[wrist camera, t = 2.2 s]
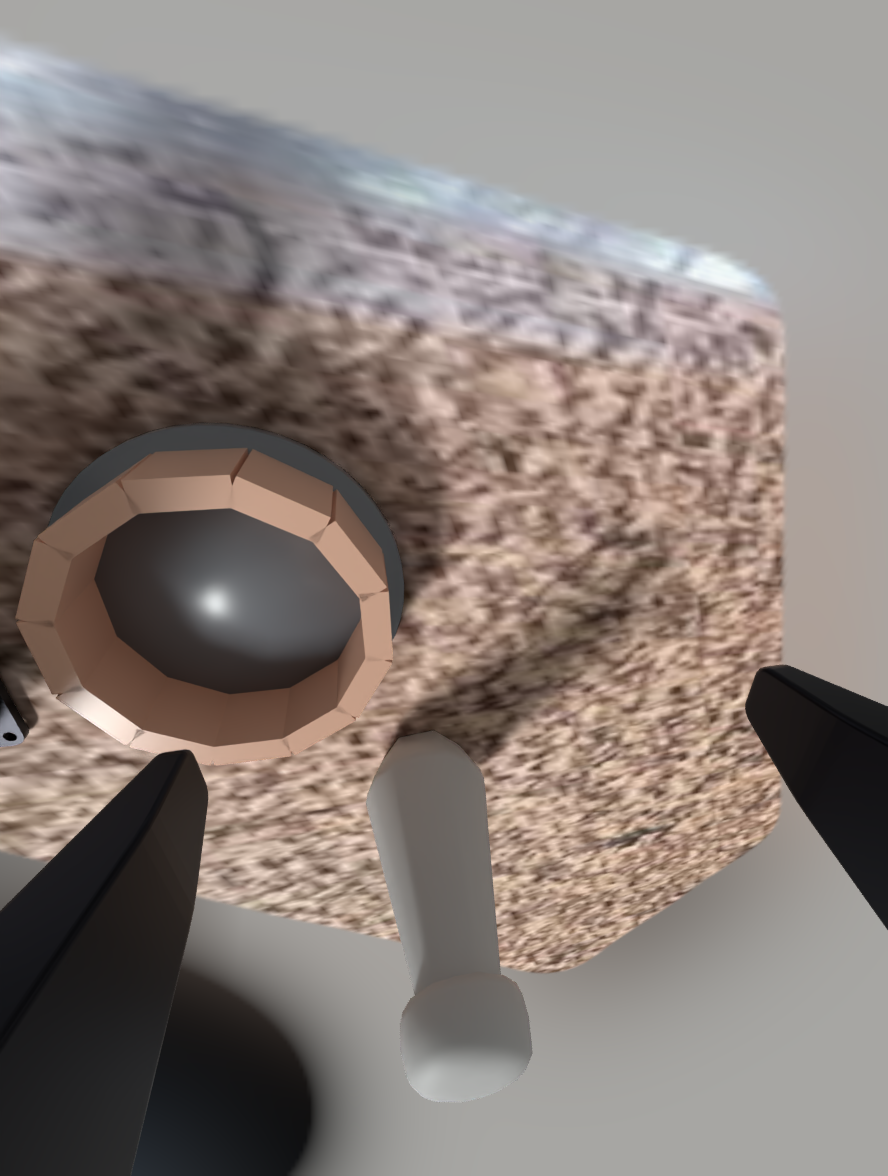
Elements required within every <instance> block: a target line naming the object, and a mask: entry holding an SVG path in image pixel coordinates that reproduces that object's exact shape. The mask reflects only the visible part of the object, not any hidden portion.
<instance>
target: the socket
mask: <svg viewBox="0 0 888 1176" xmlns="http://www.w3.org/2000/svg"><path fill="white" fill-rule="evenodd" d="M37 537H38V538H36V539H35V540H34V542H33V546H32V551H31V555H30V559H29V563H28V567H27V571H26V576H25V580H24V584H23V588H22V592H21V596H20V601H19V605H18V609H17V613H16V617H15V618H16V619H19V621H17V622H16V624H17V626H18V628H19V630H20V632H21V634H22V636H23V638H24V640H25V642H26V644H27V646H28V648H29V650H30V652H31V654H32V656H33V657H34V659H35V661H36V663H37V665H38V667H39V669H40V671H41V673H42V675H43V677H44V679H45V681H46V683H47V685H48V687H49V689H50V691H51V693H52V694H58V696H57V697H56V699H58V700H59V701H61V702H62V703H64V704H65V705H67V706H68V707H69V708H71V709H72V710H74V711H75V712H77V713H78V714H80V715H81V716H83V717H84V718H86V719H87V720H88V721H90V722H91V723H93V724H94V725H96V726H97V727H99V728H100V729H102V730H103V731H105V732H106V733H108V734H109V735H110V736H112V737H113V738H115V739H116V740H118V741H119V742H121V743H122V744H124V745H126V744H128V743H130V742H131V741H132V743H131V745H130V748H135V749H139V750H144V751H148V752H152V753H157V754H160V753H163V752H169V751H176V750H183V749H187V750H190V751H191V752H192V753H193V754H194V756H195V758H196V760H197V763H201V764H205V765H211V763H212V761H214V764H215V766H217V765H225V764H233V763H241V762H249V761H257V760H265V759H273V758H281V757H289V756H291V753H292V752H293V753H294V754H295V755H296V754H298V753H300V752H301V751H303V750H305V749H307V748H308V747H310V746H312V745H314V744H315V743H317V742H319V741H321V740H322V739H324V738H326V737H328V736H329V735H331V734H333V733H335V732H336V731H338V730H340V729H342V728H344V727H345V726H347V725H349V724H351V723H352V722H354V721H356V717H357V718H359V716H360V715H361V713H362V712H363V710H364V708H365V707H366V705H367V703H368V702H369V700H370V699H371V697H372V695H373V694H374V692H375V690H376V689H377V687H378V685H379V684H380V682H381V681H382V679H383V677H384V676H385V674H386V672H387V671H388V669H389V668H390V666H391V664H392V659H393V649H392V640H393V638H394V636H395V634H396V631H397V628H398V625H399V622H400V619H401V614H402V608H403V603H404V579H403V571H402V564H401V559H400V555H399V552H398V548H397V544H396V541H395V538H394V536H393V534H392V532H391V529H390V527H389V525H388V522H387V521H386V519H385V518H384V516H383V514H382V513H381V511H380V509H379V508H378V506H377V505H376V503H375V502H374V501H373V500H372V498H371V497H370V496H369V495H368V493H367V492H366V491H365V490H364V489H363V487H362V486H361V485H360V484H358V483H357V482H356V481H355V480H354V479H353V478H352V477H351V476H350V475H349V474H348V473H347V472H346V471H345V470H343V469H342V468H340V467H339V466H338V465H336V464H335V463H334V462H332V461H331V460H330V459H328V458H327V457H325V456H324V455H322V454H320V453H318V452H316V451H315V450H313V449H311V448H309V447H308V446H306V445H304V444H302V443H299V442H297V441H294V440H292V439H289V438H287V437H285V436H282V435H280V434H276V433H273V432H269V431H265V430H262V429H258V428H255V427H248V426H242V425H235V424H229V423H193V424H183V425H174V426H170V427H166V428H162V429H157V430H153V431H149V432H147V433H144V434H142V435H139V436H137V437H134V438H132V439H129V440H127V441H125V442H123V443H121V444H120V445H118V446H116V447H115V448H113V449H111V450H110V451H108V452H106V453H105V454H103V455H102V456H100V457H99V458H97V459H96V460H95V461H94V462H92V463H91V464H90V465H89V466H88V467H86V468H85V469H84V470H83V471H82V472H80V473H79V474H78V476H77V477H76V478H75V479H74V480H73V481H72V483H71V484H70V485H69V486H68V487H67V489H66V490H65V491H64V493H63V494H62V496H61V498H60V500H59V501H58V503H57V505H56V507H55V508H54V510H53V513H52V516H51V519H50V521H49V524H48V527H47V529H45V530H44V531H43V532H42V533H40V534H39V535H38V536H37Z"/></svg>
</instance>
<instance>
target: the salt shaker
mask: <svg viewBox="0 0 888 1176" xmlns="http://www.w3.org/2000/svg"><path fill="white" fill-rule="evenodd" d="M366 805H367V809H368V813H369V817H370V821H371V825H372V829H373V833H374V837H375V841H376V845H377V848H378V852H379V856H380V860H381V864H382V868H383V872H384V876H385V880H386V884H387V888H388V892H389V896H390V900H391V903H392V907H393V911H394V915H395V919H396V923H397V927H398V931H399V935H400V939H401V943H402V946H403V951H404V954H405V958H406V962H407V966H408V970H409V974H410V978H411V981H412V986H413V990H414V994H415V996H414V997H412V998H411V999H410V1001H409V1002H408V1004H407V1006H406V1008H405V1009H404V1011H403V1014H402V1018H401V1023H400V1049H401V1055H402V1059H403V1064H404V1069H405V1074H406V1077H407V1079H408V1081H409V1083H410V1085H411V1086H412V1087H413V1088H414V1089H415V1090H416V1091H417V1092H418V1093H419V1094H420V1095H421V1096H422V1097H424V1098H427V1099H429V1100H432V1101H435V1102H465V1101H470V1100H474V1099H479V1098H482V1097H485V1096H488V1095H491V1094H494V1093H496V1092H498V1091H500V1090H501V1089H503V1088H504V1087H506V1086H508V1085H509V1084H511V1083H513V1082H514V1081H516V1080H517V1079H518V1078H519V1077H520V1076H521V1075H522V1073H523V1072H524V1071H525V1070H526V1068H527V1065H528V1063H529V1060H530V1058H531V1055H532V1043H531V1033H530V1025H529V1016H528V1012H527V1009H526V1005H525V1002H524V998H523V995H522V993H521V991H520V989H519V987H518V985H517V983H516V982H514V981H512V980H511V979H509V978H507V977H506V976H504V975H501V973H500V960H499V949H498V937H497V925H496V914H495V902H494V891H493V879H492V868H491V856H490V844H489V833H488V820H487V804H486V792H485V784H484V777H483V775H482V772H481V770H480V768H479V767H478V766H477V765H476V764H475V763H474V762H473V760H472V759H471V758H470V757H469V756H468V755H467V754H466V753H465V751H464V750H463V749H462V748H461V747H460V746H459V745H458V744H457V743H455V742H453V741H451V740H450V739H448V738H446V737H445V736H443V735H441V734H439V733H438V732H436V731H434V730H433V731H428V732H423V733H419V734H414V735H409V736H405V737H400V738H398V740H397V741H396V742H395V744H394V745H393V747H392V748H391V749H390V751H389V752H388V754H387V755H386V756H385V758H384V759H383V761H382V763H381V765H380V767H379V769H378V771H377V773H376V775H375V777H374V779H373V782H372V784H371V787H370V789H369V792H368V795H367V801H366Z"/></svg>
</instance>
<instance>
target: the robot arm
mask: <svg viewBox="0 0 888 1176" xmlns="http://www.w3.org/2000/svg"><path fill="white" fill-rule="evenodd" d="M745 710H746V715H747V717H748V719H749V721H750V723H751V725H752V726H753V728H754V730H755V732H756V733H757V735H758V737H759V738H760V740H761V742H762V744H763V745H764V747H765V749H766V750H767V752H768V754H769V756H770V757H771V759H772V761H773V762H774V764H775V766H776V768H777V769H778V771H779V773H780V774H781V776H782V778H783V780H784V781H785V783H786V785H787V786H788V788H789V790H790V791H791V793H792V794H793V796H794V798H795V799H796V801H797V803H798V804H799V805H800V807H801V809H802V810H803V812H804V813H805V814H806V816H807V817H808V819H809V820H810V821H811V823H812V824H813V826H814V827H815V829H816V830H817V831H818V833H819V834H820V835H821V837H822V838H823V840H824V841H825V843H826V844H827V846H828V847H829V848H830V850H831V851H832V853H833V854H834V855H835V857H836V858H837V860H838V861H839V862H840V864H841V865H842V866H843V868H844V869H845V871H846V872H847V873H848V875H849V876H850V878H851V879H852V881H853V882H854V883H855V885H856V886H857V888H858V889H859V890H860V892H861V893H862V895H863V896H864V897H865V899H866V900H867V902H868V903H869V905H870V906H871V907H872V909H873V910H874V912H875V913H876V914H877V916H878V917H879V918H880V920H881V921H882V923H883V924H884V925H885V927H886V928H887V930H888V706H885V705H883V704H880V703H878V702H876V701H873V700H871V699H868V698H866V697H864V696H861V695H859V694H856V693H854V692H852V691H849V690H847V689H844V688H842V687H840V686H837V685H834V684H832V683H830V682H827V681H825V680H823V679H820V678H818V677H815V676H813V675H811V674H808V673H806V672H803V671H801V670H799V669H796V668H794V667H791V666H788V665H775V666H768V667H763V668H760V669H759V670H758V671H757V673H756V675H755V678H754V680H753V683H752V686H751V689H750V692H749V695H748V698H747V700H746V704H745ZM13 733H14V734H13ZM28 733H29V729H28V727H27V725H26V723H25V722H24V720H23V718H22V716H21V715H20V713H19V711H18V709H17V708H16V706H15V704H14V702H13V700H12V699H11V697H10V695H9V693H8V692H7V690H6V688H5V686H4V684H3V683H2V681H1V679H0V747H5V746H13V745H18V744H20V743H22V742H23V741H24V739H25V738H26V737H27V735H28ZM207 806H208V789H207V785H206V782H205V780H204V778H203V775H202V773H201V770H200V768H199V765H198V763H197V760H196V758H195V756H194V754H193V753H192V752H191V751H190V750H187V749H183V750H176V751H169V752H163V753H160V754H159V755H157V756H156V757H155V758H154V759H153V760H152V761H151V762H150V763H149V764H148V765H147V766H146V767H145V768H144V769H143V770H142V771H141V772H140V773H139V774H138V775H137V776H136V777H135V778H134V779H133V780H132V781H131V782H129V783H128V784H127V785H126V786H125V787H124V788H123V789H122V790H121V791H120V792H119V793H118V794H117V795H116V796H115V797H114V798H113V799H112V800H111V801H110V802H109V803H108V804H107V805H106V806H105V807H104V808H103V809H102V810H101V811H100V812H99V813H98V814H97V815H96V816H95V817H94V818H93V819H92V820H91V821H90V822H89V823H88V824H87V825H86V826H85V827H84V828H83V829H82V830H81V831H80V832H79V833H78V834H77V835H76V836H75V837H74V838H73V839H72V840H71V841H70V842H69V843H68V844H67V845H66V846H65V847H64V848H63V849H62V850H61V851H60V852H59V853H58V854H57V855H56V856H55V857H54V858H53V859H52V860H51V861H50V862H49V863H48V864H47V865H46V866H45V867H44V868H43V869H42V870H41V871H40V872H39V873H38V874H37V875H36V876H35V877H34V878H33V879H32V880H31V881H30V882H29V883H28V884H27V885H26V886H25V887H24V888H23V889H22V890H21V891H20V892H19V893H18V894H17V895H16V896H15V897H14V898H13V899H12V900H11V901H10V902H9V903H8V904H7V905H6V906H5V907H4V908H3V909H2V910H1V911H0V1176H131V1172H132V1168H133V1164H134V1159H135V1155H136V1151H137V1147H138V1143H139V1138H140V1134H141V1130H142V1126H143V1122H144V1118H145V1113H146V1109H147V1105H148V1101H149V1097H150V1092H151V1088H152V1084H153V1080H154V1076H155V1071H156V1067H157V1063H158V1059H159V1055H160V1051H161V1047H162V1042H163V1038H164V1034H165V1030H166V1026H167V1021H168V1017H169V1013H170V1009H171V1005H172V1000H173V996H174V992H175V988H176V984H177V980H178V975H179V971H180V967H181V963H182V958H183V955H184V950H185V946H186V942H187V938H188V934H189V929H190V925H191V920H192V915H193V911H194V905H195V898H196V892H197V884H198V876H199V869H200V861H201V853H202V845H203V837H204V830H205V822H206V814H207Z"/></svg>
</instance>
